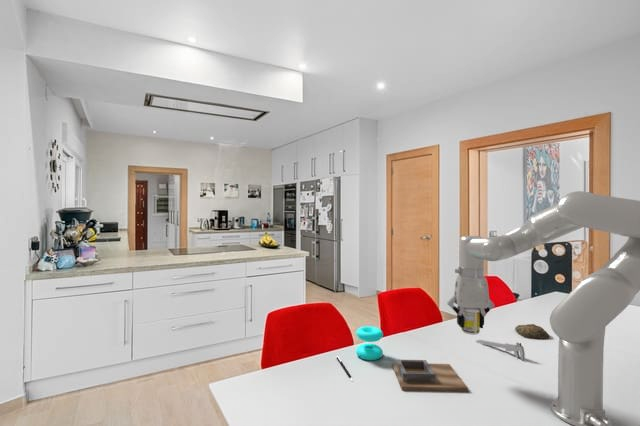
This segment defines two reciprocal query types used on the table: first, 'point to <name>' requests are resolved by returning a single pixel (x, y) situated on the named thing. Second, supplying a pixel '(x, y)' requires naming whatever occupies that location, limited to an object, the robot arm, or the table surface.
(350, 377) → the pen
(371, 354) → the donuts
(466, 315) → the supplement bottle
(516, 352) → the caliper
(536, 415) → the table surface
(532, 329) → the bread roll
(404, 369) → the board
